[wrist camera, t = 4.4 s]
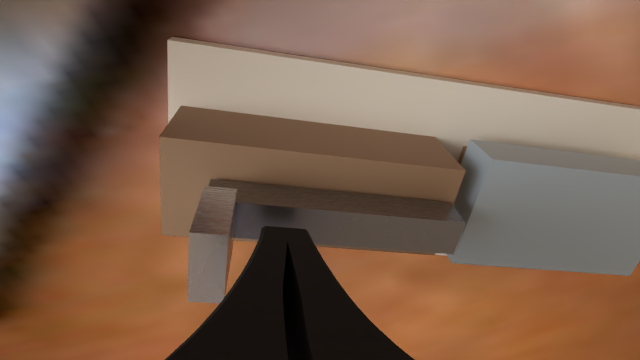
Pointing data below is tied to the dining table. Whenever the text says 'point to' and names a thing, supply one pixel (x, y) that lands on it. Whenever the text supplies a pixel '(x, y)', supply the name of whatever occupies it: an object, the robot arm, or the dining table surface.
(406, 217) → the bolt
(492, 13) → the dining table surface
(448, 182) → the latch box
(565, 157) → the cover
